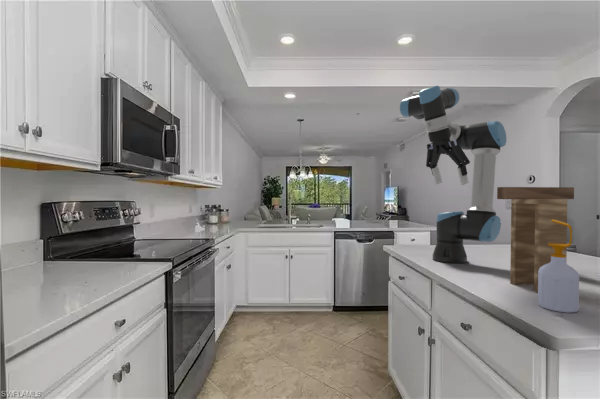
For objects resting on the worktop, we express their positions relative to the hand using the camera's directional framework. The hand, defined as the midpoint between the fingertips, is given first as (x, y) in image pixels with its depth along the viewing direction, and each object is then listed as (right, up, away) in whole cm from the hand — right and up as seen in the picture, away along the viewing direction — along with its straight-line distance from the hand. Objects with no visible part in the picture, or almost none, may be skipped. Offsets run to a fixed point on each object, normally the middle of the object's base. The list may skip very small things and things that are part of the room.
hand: (451, 183), depth 130 cm
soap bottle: (+14, -36, -35) cm, 52 cm away
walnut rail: (+22, -6, -15) cm, 27 cm away
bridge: (+23, -36, -14) cm, 45 cm away
